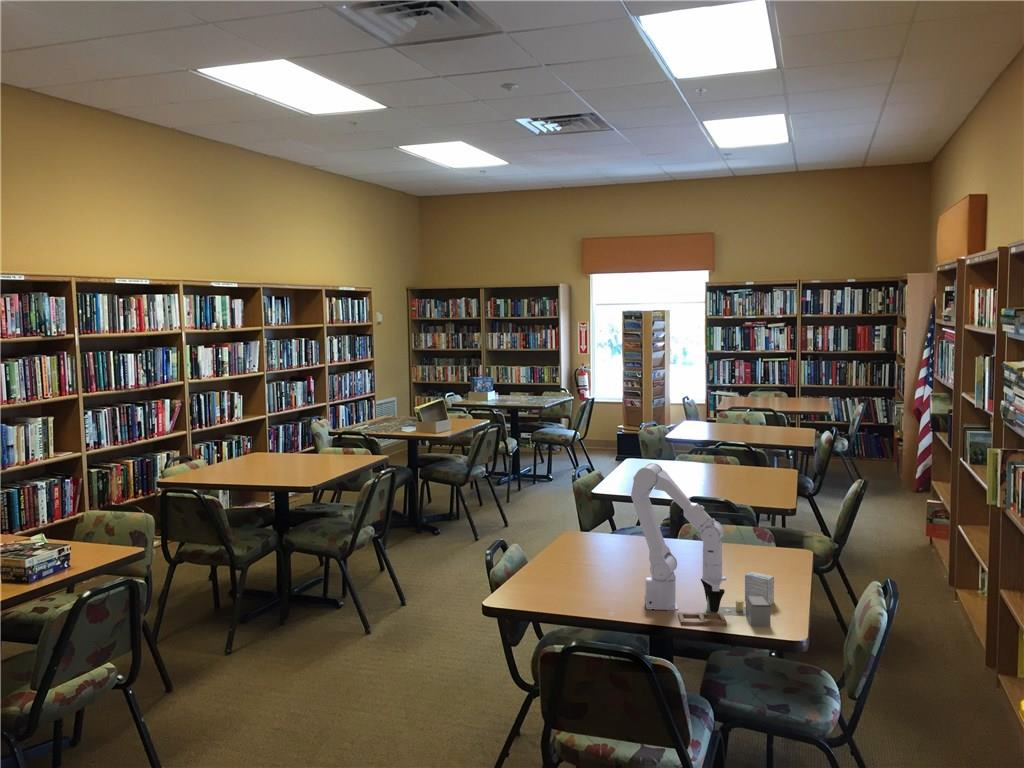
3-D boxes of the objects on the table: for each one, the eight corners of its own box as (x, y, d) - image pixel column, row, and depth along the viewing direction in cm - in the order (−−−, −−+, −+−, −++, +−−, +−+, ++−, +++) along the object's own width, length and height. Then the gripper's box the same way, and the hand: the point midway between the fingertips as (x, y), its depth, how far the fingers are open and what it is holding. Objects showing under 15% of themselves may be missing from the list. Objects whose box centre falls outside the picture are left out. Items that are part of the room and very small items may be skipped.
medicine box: (774, 603, 249) (774, 576, 248) (768, 607, 246) (768, 579, 245) (750, 597, 254) (750, 571, 254) (744, 601, 251) (744, 574, 250)
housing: (745, 617, 238) (745, 595, 237) (764, 617, 237) (764, 596, 237) (751, 627, 230) (751, 605, 229) (770, 627, 229) (770, 605, 229)
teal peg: (707, 614, 240) (708, 594, 239) (705, 610, 243) (706, 591, 243) (718, 614, 240) (719, 595, 239) (716, 610, 243) (717, 591, 243)
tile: (720, 615, 239) (720, 604, 239) (716, 607, 246) (716, 597, 246) (751, 616, 238) (751, 605, 238) (746, 608, 245) (746, 597, 245)
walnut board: (681, 625, 231) (681, 621, 231) (678, 616, 239) (678, 612, 239) (726, 626, 230) (726, 622, 230) (722, 617, 238) (722, 613, 238)
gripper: (730, 570, 233) (730, 615, 234) (722, 556, 247) (721, 599, 248) (705, 570, 233) (705, 615, 234) (698, 555, 248) (698, 598, 249)
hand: (712, 607), depth 241 cm, fingers open, 7 cm apart
